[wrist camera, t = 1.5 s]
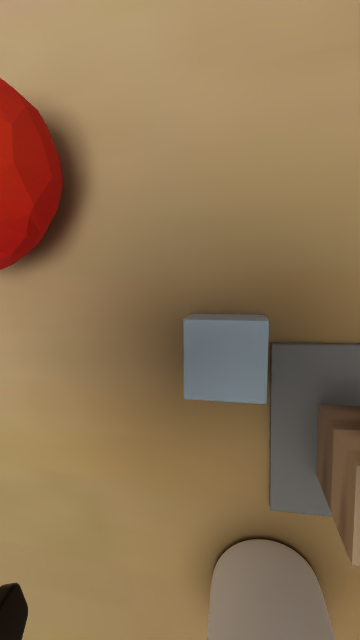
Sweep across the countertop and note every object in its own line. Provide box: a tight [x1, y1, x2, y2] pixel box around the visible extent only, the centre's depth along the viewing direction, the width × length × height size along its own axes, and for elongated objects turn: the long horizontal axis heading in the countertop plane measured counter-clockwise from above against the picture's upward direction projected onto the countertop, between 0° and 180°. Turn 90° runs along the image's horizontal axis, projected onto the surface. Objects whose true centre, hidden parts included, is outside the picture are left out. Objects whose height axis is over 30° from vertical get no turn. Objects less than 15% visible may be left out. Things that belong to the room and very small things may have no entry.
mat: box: [270, 343, 360, 517], centre depth 21 cm, size 11×12×1 cm
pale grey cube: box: [183, 314, 269, 404], centre depth 21 cm, size 5×5×4 cm
